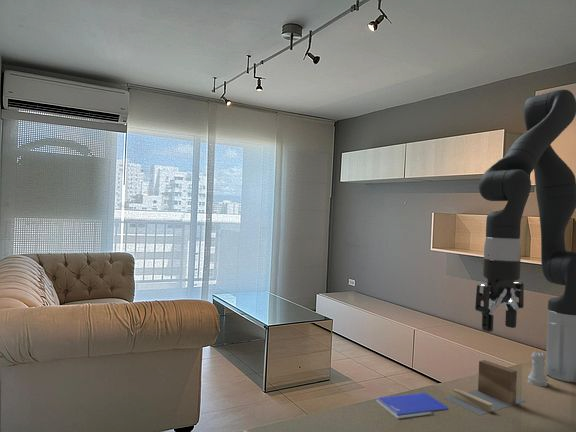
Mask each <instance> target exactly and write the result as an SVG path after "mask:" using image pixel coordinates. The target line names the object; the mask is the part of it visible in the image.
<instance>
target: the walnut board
mask: <svg viewBox="0 0 576 432" xmlns="http://www.w3.org/2000/svg"><path fill="white" fill-rule="evenodd" d="M517 377H518V371H517V370H516V369H512V368H509V367H506V366H503V365H500V364H498V363H495V362H491V361H488V360H486V359H483V360H479V361H478V383H477V384H478V385H477V390H478V391H479V392H482V393H484V394H486V395H489V396H491V397H494V398H496V399H499V400H501V401H503V402H506V403H508V404H513V403H516V397H517V383H518V381H517Z"/></svg>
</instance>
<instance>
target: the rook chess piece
mask: <svg viewBox="0 0 576 432" xmlns="http://www.w3.org/2000/svg"><path fill="white" fill-rule="evenodd" d="M530 356H531V358H532V361H531V363H532V367H531V371H530V373H529V375H528V376H527V383H528V384H530V385H533V386H537V387H538V386H539V387H547V386H548V378H547V376H546V373H545V370H544V367H545V366H544V365H545V362H544V361H546V355H545V353H544V352H541V351H537V350H536V351H535V350H534V351H532V354H530Z"/></svg>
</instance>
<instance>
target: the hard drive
mask: <svg viewBox="0 0 576 432" xmlns="http://www.w3.org/2000/svg"><path fill="white" fill-rule="evenodd" d="M382 397H383V396H382ZM382 397H376V403H377V404H378V405H380V406H381V407H382V408H383V409H385V410H386V411H387V412H388V413H390V414H391V416H393V417H395V418H396V419H397V420H398V419H404V418H413V417H418V416H419V417H420V416H427V415H434V414H435V412H438V411H446V410H449V407H448V406H447V405H445V404H443V403H442V402H441V401H439V400H437V399H436V398H434V397H433V396H431V395H430V394H428V393H426V392H420V393H412V394H410V393H409V394H403V395H402V394H401V395H393V396H385V397H383V398H382ZM378 398H379V399H378Z"/></svg>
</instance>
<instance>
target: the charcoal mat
mask: <svg viewBox="0 0 576 432" xmlns="http://www.w3.org/2000/svg"><path fill="white" fill-rule="evenodd" d="M466 393H469V394H471V395H473V396H476V397H478V398H480V399H483V400H485V401H487V402H490V403H492V404H493V411H492V412H495V411H500V410H502V409H506V408H509V407H511V406H514V405H518V404H522V403H525V402H526V400H524V399H522V398H519V397H518V396H516V403H513V404H508V403H506V402H503V401H501V400H499V399H496V398H494V397H491V396H489V395H486V394H484V393H482V392H479V391H478V389H475V390H473V391H472V390H471V391H468V392H466ZM444 400H446V401H449V402H450V403H452V404H455V405H457V406H458V407H462V408H463V409H465V410H468V411H469V412H472V413H474V414H476V415H479V416H482V415H486V414H488V413H490V412H486V411H484V410H482V409H480V408H478V407H475V406H473V405H471V404H469V403H467V402H464V401H462V400H460V399H458V398H455V397H453V395H452V396H448V397H444ZM492 412H491V413H492Z"/></svg>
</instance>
